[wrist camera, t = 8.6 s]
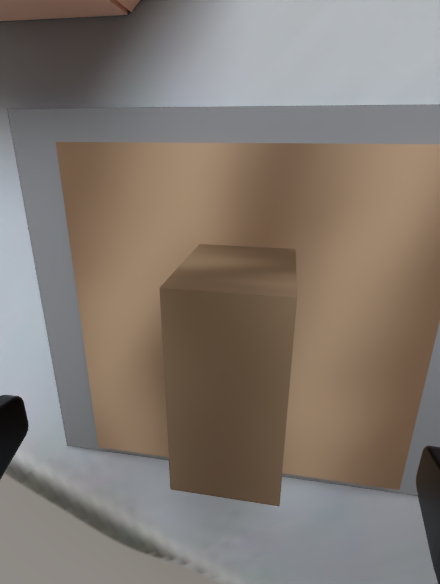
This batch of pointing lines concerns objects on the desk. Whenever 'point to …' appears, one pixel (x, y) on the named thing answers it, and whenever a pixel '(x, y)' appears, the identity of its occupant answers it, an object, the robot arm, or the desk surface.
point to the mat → (183, 129)
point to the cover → (256, 305)
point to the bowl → (62, 8)
